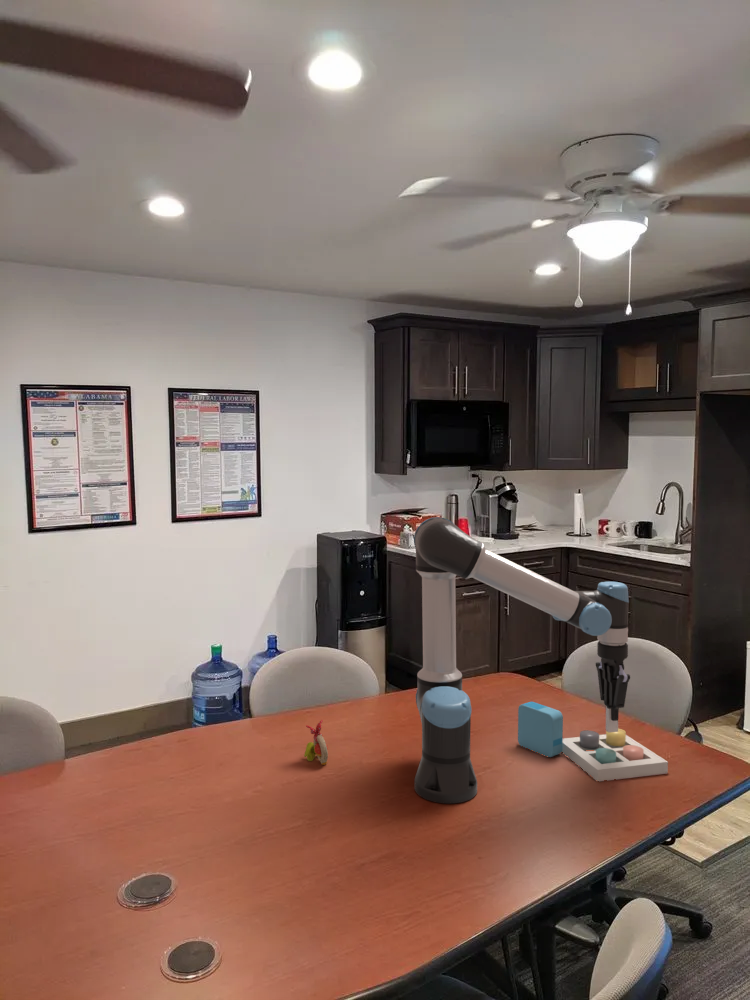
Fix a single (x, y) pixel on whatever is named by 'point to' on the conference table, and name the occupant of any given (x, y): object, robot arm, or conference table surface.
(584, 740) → the charcoal button
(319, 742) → the bird rattle
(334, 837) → the conference table surface
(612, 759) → the teal button
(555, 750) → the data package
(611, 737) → the mustard button
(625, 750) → the coral button
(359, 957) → the conference table surface
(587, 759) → the tray
